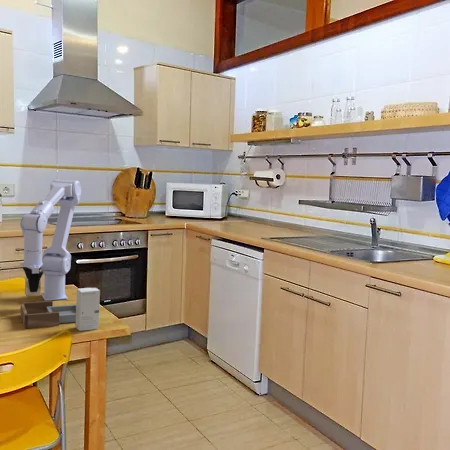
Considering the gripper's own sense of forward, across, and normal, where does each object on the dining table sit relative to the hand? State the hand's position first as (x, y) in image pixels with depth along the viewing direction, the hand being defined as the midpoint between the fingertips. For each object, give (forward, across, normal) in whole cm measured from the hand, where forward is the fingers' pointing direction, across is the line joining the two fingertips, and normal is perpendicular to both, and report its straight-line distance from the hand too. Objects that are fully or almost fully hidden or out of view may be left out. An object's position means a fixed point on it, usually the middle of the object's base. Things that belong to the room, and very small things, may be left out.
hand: (32, 289), depth 163 cm
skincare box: (+7, +25, +13) cm, 29 cm away
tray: (+6, +13, +10) cm, 17 cm away
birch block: (+2, 0, 0) cm, 2 cm away
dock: (+6, +13, +1) cm, 14 cm away
